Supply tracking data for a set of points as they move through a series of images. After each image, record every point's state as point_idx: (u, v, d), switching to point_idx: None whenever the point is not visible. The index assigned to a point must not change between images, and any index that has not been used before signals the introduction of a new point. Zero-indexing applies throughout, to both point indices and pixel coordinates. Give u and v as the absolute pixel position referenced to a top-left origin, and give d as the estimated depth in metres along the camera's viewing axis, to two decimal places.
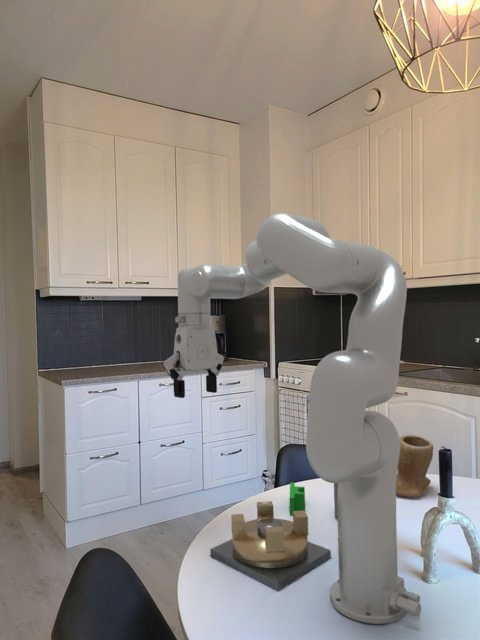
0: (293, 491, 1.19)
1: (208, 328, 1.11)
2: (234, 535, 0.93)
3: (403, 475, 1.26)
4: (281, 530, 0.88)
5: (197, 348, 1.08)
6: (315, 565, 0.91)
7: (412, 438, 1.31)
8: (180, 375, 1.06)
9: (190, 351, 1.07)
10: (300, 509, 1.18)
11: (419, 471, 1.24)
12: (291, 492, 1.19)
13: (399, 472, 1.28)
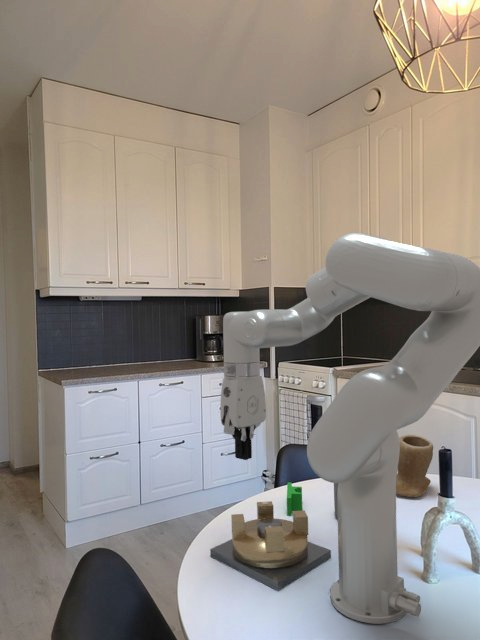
0: (290, 491, 1.19)
1: (257, 378, 0.99)
2: (234, 535, 0.93)
3: (403, 476, 1.26)
4: (281, 530, 0.88)
5: (247, 402, 0.96)
6: (315, 565, 0.91)
7: (412, 438, 1.31)
8: (243, 436, 0.97)
9: (241, 406, 0.95)
10: (297, 509, 1.18)
11: (419, 471, 1.24)
12: (288, 492, 1.19)
13: (399, 472, 1.28)
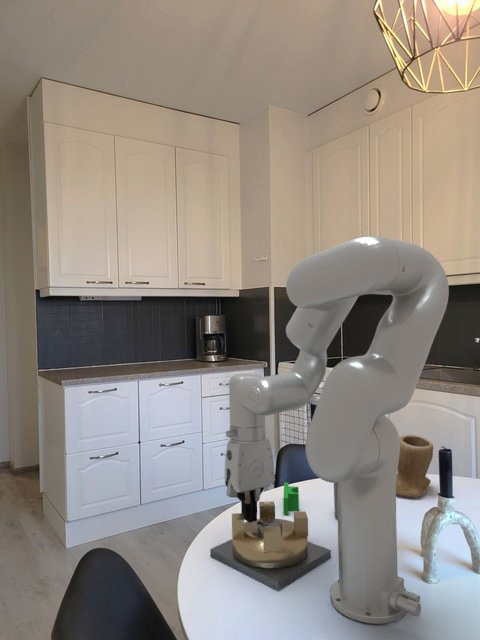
0: (287, 491, 1.19)
1: (263, 441, 0.99)
2: (233, 534, 0.93)
3: (403, 476, 1.26)
4: (279, 531, 0.88)
5: (250, 466, 0.97)
6: (315, 565, 0.91)
7: (412, 438, 1.31)
8: (247, 499, 0.98)
9: (242, 471, 0.96)
10: (294, 509, 1.18)
11: (419, 471, 1.24)
12: (285, 492, 1.19)
13: (399, 472, 1.28)
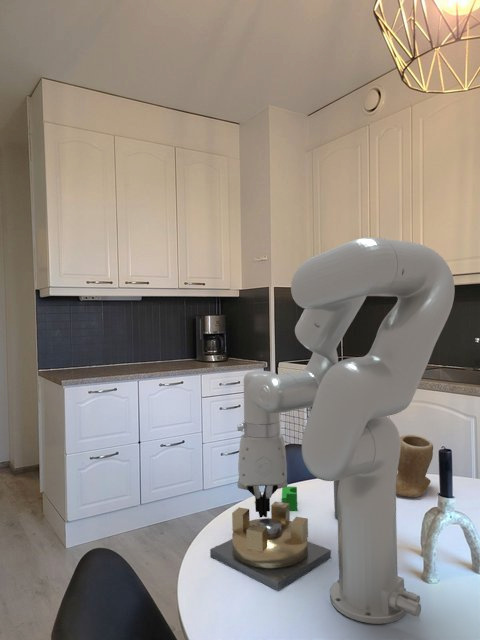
0: (285, 491, 1.19)
1: (272, 440, 0.99)
2: (233, 527, 0.97)
3: (403, 475, 1.26)
4: (261, 531, 0.88)
5: (255, 462, 0.99)
6: (315, 565, 0.91)
7: (412, 438, 1.31)
8: (256, 494, 1.00)
9: (246, 465, 0.99)
10: (292, 509, 1.18)
11: (419, 471, 1.24)
12: (283, 492, 1.19)
13: (399, 472, 1.28)
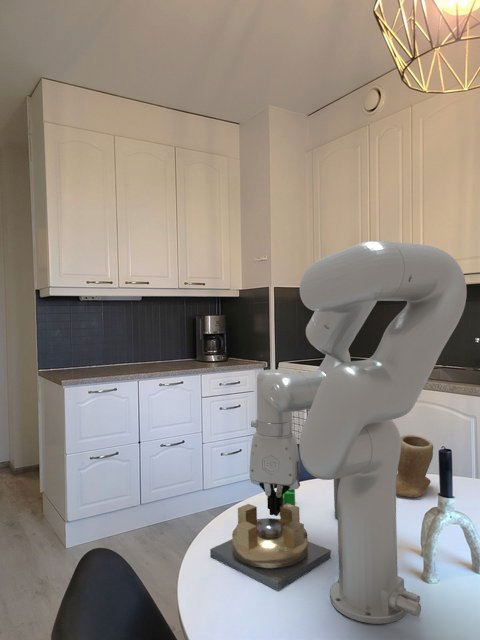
0: None
1: (280, 439, 0.98)
2: (239, 522, 0.99)
3: (403, 476, 1.26)
4: (248, 529, 0.89)
5: (263, 459, 0.99)
6: (315, 565, 0.91)
7: (412, 438, 1.31)
8: (266, 491, 1.01)
9: (255, 461, 1.00)
10: None
11: (419, 471, 1.24)
12: None
13: (399, 472, 1.28)
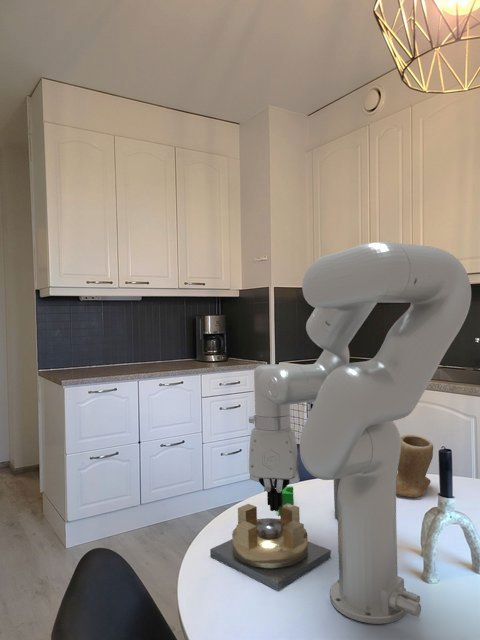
0: None
1: (280, 433, 0.98)
2: (239, 522, 0.99)
3: (403, 476, 1.26)
4: (248, 529, 0.89)
5: (263, 454, 0.99)
6: (315, 565, 0.91)
7: (412, 438, 1.31)
8: (266, 486, 1.00)
9: (254, 456, 1.00)
10: None
11: (419, 471, 1.24)
12: None
13: (399, 472, 1.28)
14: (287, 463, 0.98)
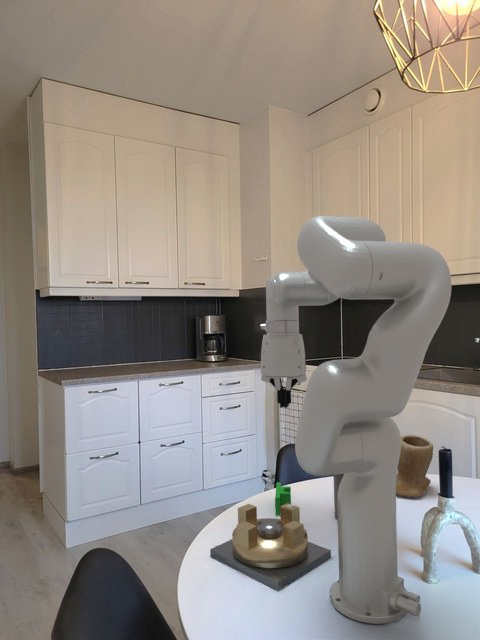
0: (279, 491, 1.20)
1: (289, 335, 1.08)
2: (239, 521, 0.99)
3: (403, 476, 1.26)
4: (248, 529, 0.89)
5: (274, 355, 1.09)
6: (315, 565, 0.91)
7: (412, 438, 1.31)
8: (276, 386, 1.10)
9: (266, 358, 1.10)
10: None
11: (419, 471, 1.24)
12: (277, 492, 1.19)
13: (399, 472, 1.28)
14: (296, 362, 1.08)
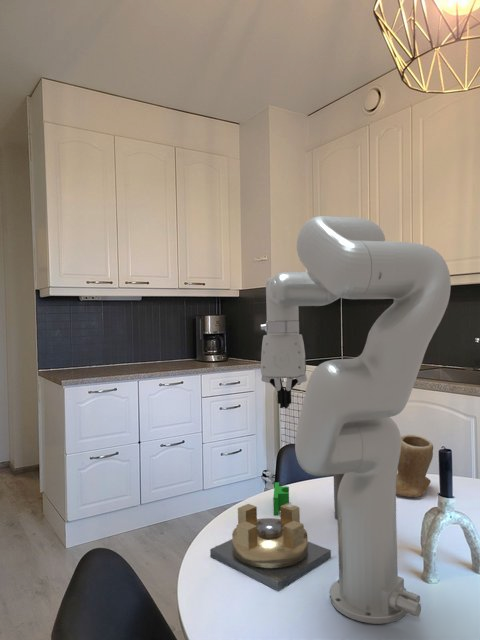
0: (277, 491, 1.20)
1: (289, 336, 1.08)
2: (239, 521, 0.99)
3: (403, 476, 1.26)
4: (248, 529, 0.89)
5: (274, 355, 1.09)
6: (315, 565, 0.91)
7: (412, 438, 1.31)
8: (276, 386, 1.11)
9: (266, 358, 1.10)
10: None
11: (419, 471, 1.24)
12: (275, 492, 1.19)
13: (399, 472, 1.28)
14: (296, 362, 1.08)
